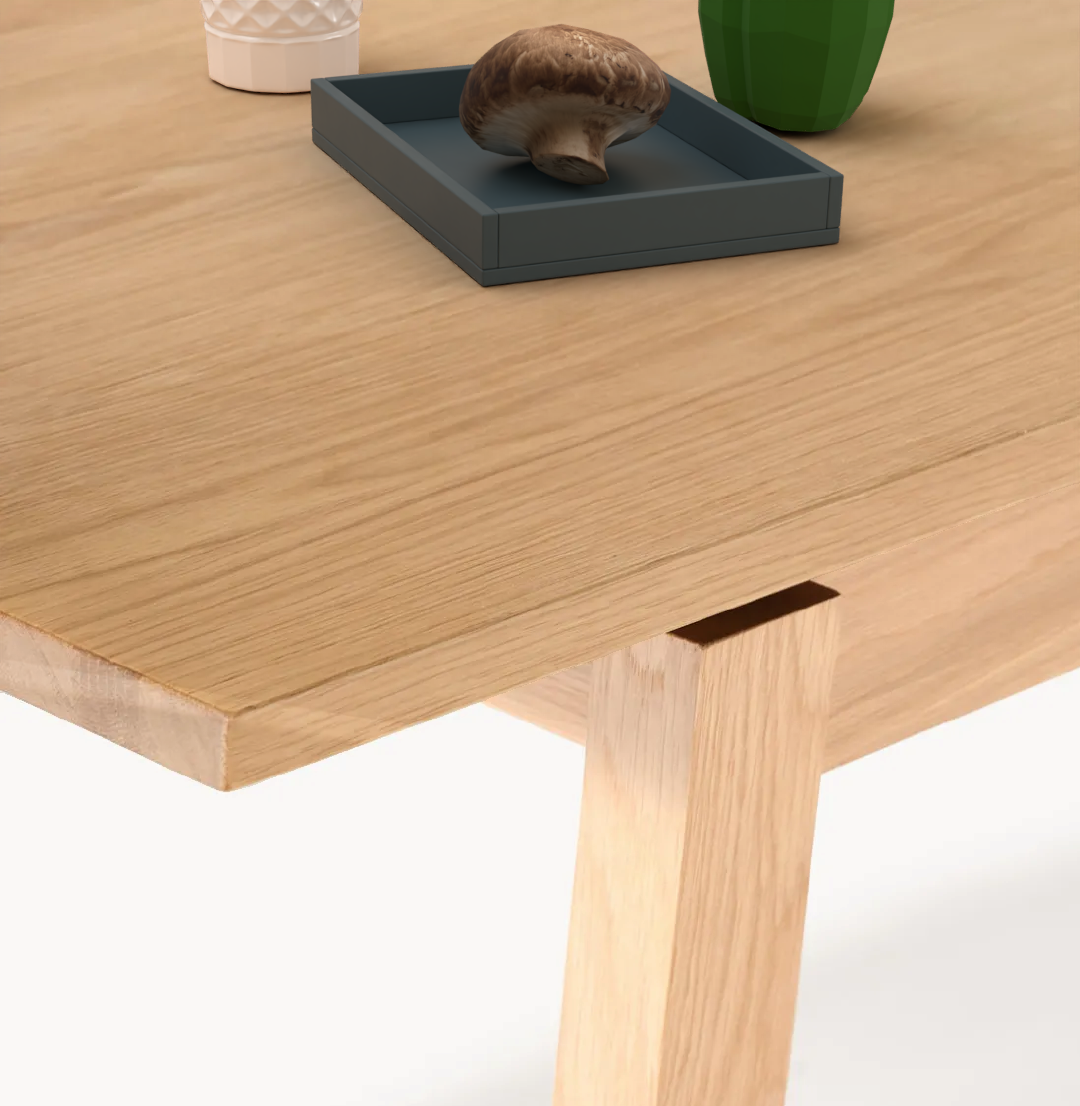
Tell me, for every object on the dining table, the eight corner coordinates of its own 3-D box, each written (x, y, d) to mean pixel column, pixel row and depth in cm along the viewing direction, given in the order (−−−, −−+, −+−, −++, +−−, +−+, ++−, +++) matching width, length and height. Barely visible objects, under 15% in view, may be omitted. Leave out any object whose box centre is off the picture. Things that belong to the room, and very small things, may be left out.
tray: (482, 287, 89) (482, 214, 87) (311, 141, 104) (309, 78, 103) (839, 243, 94) (844, 174, 92) (625, 110, 109) (627, 49, 108)
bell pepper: (712, 86, 113) (724, -148, 108) (896, 102, 111) (916, -136, 106) (670, 136, 106) (680, -112, 101) (866, 154, 104) (885, -98, 99)
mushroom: (630, 135, 92) (603, -28, 92) (437, 196, 95) (413, 38, 96) (712, 188, 99) (686, 36, 100) (530, 243, 102) (507, 96, 103)
